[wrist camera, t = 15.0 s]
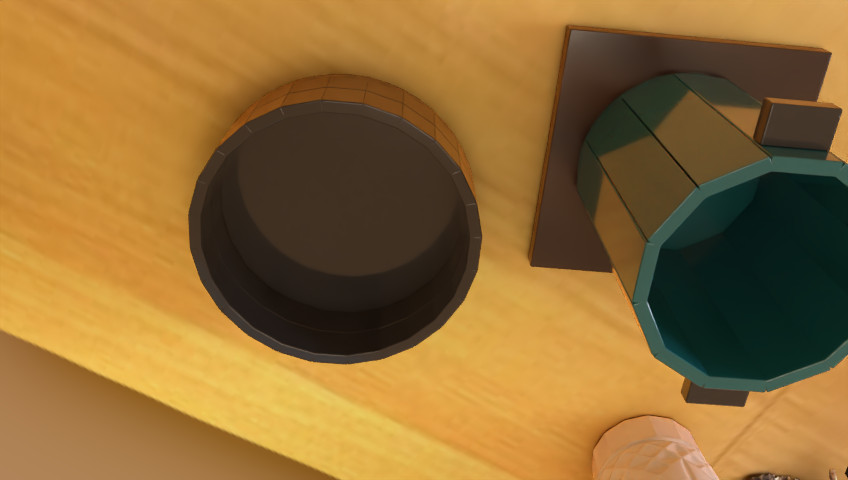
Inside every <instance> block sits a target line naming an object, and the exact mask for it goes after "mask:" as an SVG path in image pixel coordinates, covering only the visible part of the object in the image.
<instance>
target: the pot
mask: <svg viewBox="0 0 848 480" xmlns="http://www.w3.org/2000/svg"><path fill="white" fill-rule="evenodd" d="M841 113H842V109H841V108H839V107H838V106H836V105H834V104H832V103H823V102H812V101H801V100H789V99H778V98H767V97H766V98H764V99H763V103H761V102H759V101H758V100H756V99H755V98H753V97H752V96H751V95H749V94H748V93H746V92H745V91H743V90H742V89H741V88H739V87H738V86H736V85H735V84H734V83H732V82H731V81H729V80H728V79H727V80H726V79H725V78H716V77H713V76H710V75H704V74H698V73H677V74H668V75H664V76H660V77H656V78H653V79H650V80H648V81H645V82H642V83H640V84H638V85H637V86H635V87H633V88H631V89H629V90H628V91H626V92H625V93H623V94H622V95H620V96H619V97H618V98H616V99H615V100H614V101H613V102H612V103H611V104H609V105H608V106H607V108H606V109H605V110H604V111H603V112H602V113H601V114H600V115H599V117H598V118H597V119H596V121H595V122H594V123H593V125H592V127H591V128H590V130H589V132H588V134H587V136H586V138H585V140H584V143H583V145H582V148H581V151H580V155H579V159H578V166H577V185H576V187H577V193H578V195H579V197H580V200H581V203H582V206H583V208H584V210H585V212H586V215H587V217H588V220H589V222H590V224H591V227H592V229H593V231H594V234H595V236H596V238H597V240H598V242H599V244H600V246H601V248H602V250H603V253H604V255H605V257H606V259H607V261H608V263H609V265H610V267H611V269H612V272H613V274H614V276H615V278H616V280H617V282H618V284H619V286H620V288H621V291H622V293H623V295H624V297H625V299H626V301H627V303H628V305H629V307H630V310H631V312H632V314H633V316H634V318H635V320H636V322H637V324H638V326H639V329H640V331H641V333H642V335H643V337H644V339H645V341H646V343H647V345H648V348H649V350H650V352H651V354H652V355H653V356H654V357H655V358H656V359H658V360H659V361H661V362H662V363H664V364H665V365H667V366H668V367H670V368H672V369H673V370H675V371H676V372H678V373H679V374H681V375H682V376H684V377H685V379H684V382H683V386H682V389H681V394H682V396H683V398H684V400H685V402H686V403H695V404H709V405H723V406H738V407H744V406H745V403H746V400H747V397H748V394H749V391H752V392H765V391H767V392H769V391H772V390H775V389H778V388H781V387H784V386H786V385H789V384H792V383H795V382H798V381H801V380H804V379H806V378H809V377H812V376H815V375H818V374H821V373H823V372H826V371H829V370H830V367H831V368H834V367H835V366H836V365H837V364H838V363H839V362H841V361H842V360H843V359H844V358H845V357H846V356H847V355H848V164H847V163H846V162H844V161H843V160H841V159H840V158H839V157H837V156H836V155H834V154H833V153H831V152H830V151H829V150H830V147H831V144H832V140H833V137H834V134H835V131H836V128H837V125H838V122H839V119H840V116H841Z"/></svg>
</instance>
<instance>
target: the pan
mask: <svg viewBox="0 0 848 480" xmlns="http://www.w3.org/2000/svg"><path fill="white" fill-rule="evenodd" d="M188 219H189V242H190V250H191V253H192V256H193V259H194V262H195V265H196V268H197V271H198V274H199V277H200V280H201V282H202V284H203V285H204V287H205V288H206V290H207V291H208V293H209V294H210V296H211V297H212V299H213V300H214V302H215V303H216V305H217V306H218V308H219V309H220V310H221V312H223V313H224V314H225V315H226V316H227V317H228V318H229V319H230V320H231V321H232V322H234V323H235V324H236V325H237V326H238V327H239V328H240V329H241V330H242V331H243V332H245V333H246V334H247V335H248V336H250V337H252V338H254V339H256V340H257V341H259V342H261V343H263V344H265V345H266V346H268V347H270V348H272V349H274V350H275V351H278V352H280V353H284V354H287V355H290V356H294V357H297V358H300V359H304V360H307V361H311V362H312V361H313V362H320V363H334V364H354V363H361V362H368V361H375V360H381V359H384V358H387V357H390V356H392V355H395V354H397V353H400V352H402V351H405V350H407V349H410V348H412V347H414V346H416V345H418V344H419V343H420V342H422V341H423V340H425V339H426V338H427V337H429V336H430V335H432V334H433V333H434V332H436V331H437V330H439V329H440V328H441V327H442V326H443V325H444V324H445V323H446V322H447V321H448V319H449V318H450V317H451V316H452V315H453V313H454V312H455V311H456V310H457V309H458V307H459V306H460V305H461V304H462V303H463V301H464V300H465V298H466V296H467V293H468V291H469V289H470V287H471V284H472V282H473V280H474V278H475V275H476V273H477V270H478V264H479V257H480V250H481V242H482V232H481V226H480V219H479V213H478V206H477V200H476V194H475V189H474V183H473V177H472V171H471V168H470V166H469V164H468V161H467V159H466V156H465V153H464V151H463V149H462V147H461V145H460V144H459V142H458V140H457V138H456V136H455V135H454V134H453V132H452V131H451V130H450V128H449V127H448V126H447V124H446V123H445V122H444V121H443V120H442V119H441V118H440V117H439V116H438V115H437V114H436V113H435V112H434V110H432V109H431V108H430V107H429V106H427V105H426V104H425V103H424V102H422V101H421V100H420V99H418V98H417V97H415V96H413V95H412V94H410V93H408V92H406V91H405V90H403V89H401V88H398V87H396V86H394V85H391V84H389V83H387V82H383V81H380V80H377V79H373V78H370V77H364V76H357V75H351V74H328V75H319V76H312V77H308V78H304V79H300V80H296V81H293V82H291V83H288V84H286V85H283V86H281V87H279V88H277V89H275V90H273V91H272V92H270V93H268V94H266V95H265V96H263V97H262V98H261V99H259V100H258V101H257V102H255V103H254V104H253V105H251V106H250V107H249V108H248V109H247V110H246V111H245V112H244V113H243V114H242V115H241V116H240V117H239V118H238V119H237V120H236V121H235V122H234V124H233V125H232V127H231V128H230V130H229V131H228V132H227V134H226V135H225V137H224V138H223V140H222V141H221V142H220V144H219V145H218V147H217V148H216V150H215V151H214V153H213V154H212V156H211V158H210V159H209V161H208V162H207V164H206V166H205V167H204V169H203V170H202V172H201V174H200V175H199V177H198V179H197V182H196V185H195V189H194V193H193V197H192V201H191V205H190V209H189V214H188Z"/></svg>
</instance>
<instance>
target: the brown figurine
mask: <svg viewBox="0 0 848 480" xmlns="http://www.w3.org/2000/svg"><path fill="white" fill-rule="evenodd" d="M829 477H830V480H838V479H837V477H836V472H835V470H834V469H830V470H829ZM749 480H790V476H787V477H786V478H785V477H784V476H781V477H780V478H779V476H778V477H777V478H775V474H773V475H771V474H770V473H769V474H768V475H767V476H766V477H765V475H764V474H762V475H761V476H760V477H753V478H752V479H749ZM795 480H800V479H798V478H796V479H795Z"/></svg>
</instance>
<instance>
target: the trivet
mask: <svg viewBox="0 0 848 480" xmlns="http://www.w3.org/2000/svg"><path fill="white" fill-rule="evenodd" d="M831 55H832V53H831V52H829V51H827V50H824V49H821V48H810V47H799V46H788V45H778V44H767V43H756V42H745V41H734V40H723V39H712V38H702V37H691V36H680V35H669V34H658V33H647V32H636V31H626V30H615V29H604V28H593V27H582V26H571V25H568V26H567V30H566V36H565V42H564V48H563V54H562V60H561V66H560V72H559V78H558V84H557V90H556V96H555V102H554V108H553V114H552V120H551V126H550V132H549V138H548V144H547V150H546V156H545V162H544V168H543V174H542V180H541V186H540V192H539V198H538V204H537V210H536V216H535V222H534V228H533V234H532V240H531V246H530V252H529V262H530V265H531V266H532V267H545V268H558V269H571V270H583V271H596V272H609V273H613V272H612V269H611V267H610V265H609V263H608V261H607V259H606V257H605V255H604V253H603V250H602V248H601V246H600V244H599V242H598V240H597V238H596V236H595V234H594V231H593V229H592V227H591V224H590V222H589V220H588V217H587V215H586V212H585V210H584V208H583V206H582V203H581V200H580V197H579V195H578V193H577V187H576V185H577V166H578V159H579V155H580V151H581V148H582V145H583V143H584V140H585V138H586V136H587V134H588V132H589V130H590V128H591V127H592V125H593V123H594V122H595V121H596V119H597V118H598V117H599V115H600V114H601V113H602V112H603V111H604V110H605V109H606V108H607V106H608V105H609V104H611V103H612V102H613V101H614V100H615V99H616V98H618V97H619V96H620V95H622V94H623V93H625V92H626V91H628V90H629V89H631V88H633V87H635V86H637V85H638V84H640V83H642V82H645V81H648V80H650V79H653V78H656V77H660V76H664V75H668V74H677V73H698V74H704V75H710V76H713V77H716V78H725V79H726V80H727V79H728V80H729V81H731V82H732V83H734V84H735V85H736V86H738V87H739V88H741V89H742V90H743V91H745V92H746V93H748V94H749V95H751V96H752V97H753V98H755V99H756V100H758V101H759V102H761V103H763V99H764V98H766V97H767V98H778V99H789V100H801V101H812V102H817V100H818V96H819V93H820V90H821V87H822V84H823V80H824V77H825V74H826V71H827V68H828V65H829V61H830V58H831Z"/></svg>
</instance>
